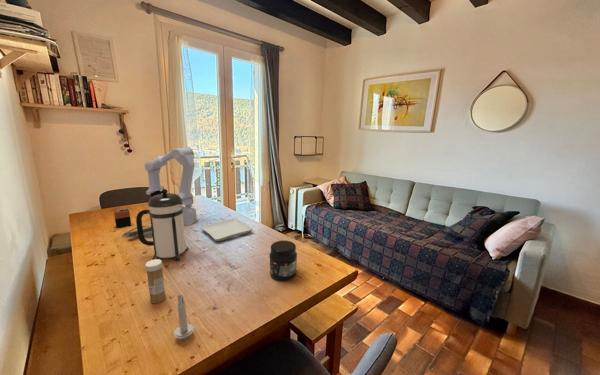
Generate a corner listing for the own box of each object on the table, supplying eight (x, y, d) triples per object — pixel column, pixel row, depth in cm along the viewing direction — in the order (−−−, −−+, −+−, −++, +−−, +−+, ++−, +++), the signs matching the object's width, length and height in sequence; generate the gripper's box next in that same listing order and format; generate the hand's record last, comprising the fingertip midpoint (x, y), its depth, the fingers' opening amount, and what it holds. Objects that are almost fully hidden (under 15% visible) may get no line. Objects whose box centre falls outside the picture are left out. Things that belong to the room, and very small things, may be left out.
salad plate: (216, 245, 120) (215, 238, 120) (199, 231, 136) (199, 225, 135) (254, 234, 134) (254, 228, 133) (235, 222, 150) (235, 217, 149)
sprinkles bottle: (147, 299, 81) (142, 262, 78) (162, 293, 85) (158, 257, 82) (153, 306, 78) (148, 267, 75) (168, 299, 82) (164, 262, 79)
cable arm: (156, 229, 134) (155, 222, 133) (159, 230, 132) (158, 224, 131) (127, 237, 124) (126, 230, 123) (129, 239, 122) (128, 232, 121)
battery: (131, 225, 141) (129, 209, 139) (116, 228, 137) (114, 211, 135) (130, 223, 144) (128, 207, 142) (115, 226, 140) (113, 209, 138)
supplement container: (271, 266, 103) (271, 239, 100) (297, 267, 102) (297, 240, 100) (267, 281, 92) (267, 251, 90) (296, 282, 92) (296, 252, 89)
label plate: (165, 228, 139) (165, 225, 139) (150, 237, 126) (150, 235, 126) (139, 227, 140) (139, 224, 139) (122, 236, 127) (121, 234, 127)
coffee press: (181, 243, 121) (175, 183, 114) (195, 255, 110) (189, 189, 103) (140, 255, 109) (131, 188, 102) (151, 270, 98) (141, 196, 91)
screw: (197, 336, 67) (179, 347, 64) (189, 327, 71) (171, 337, 67) (193, 294, 65) (174, 303, 61) (185, 286, 68) (166, 295, 64)
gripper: (155, 178, 157) (157, 199, 160) (139, 183, 143) (142, 206, 146) (166, 179, 156) (168, 199, 159) (151, 184, 142) (154, 206, 145)
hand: (157, 203), depth 153 cm, fingers closed
